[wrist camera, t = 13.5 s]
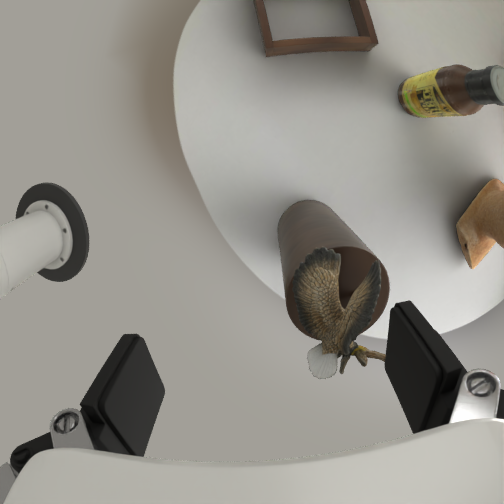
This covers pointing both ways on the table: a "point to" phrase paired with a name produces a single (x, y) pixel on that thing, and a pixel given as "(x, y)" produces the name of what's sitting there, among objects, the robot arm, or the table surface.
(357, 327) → the eagle figurine
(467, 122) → the table surface
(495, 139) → the table surface
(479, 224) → the tan boot-shaped piece
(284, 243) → the stand
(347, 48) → the crate
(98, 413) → the robot arm
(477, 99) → the sauce bottle
